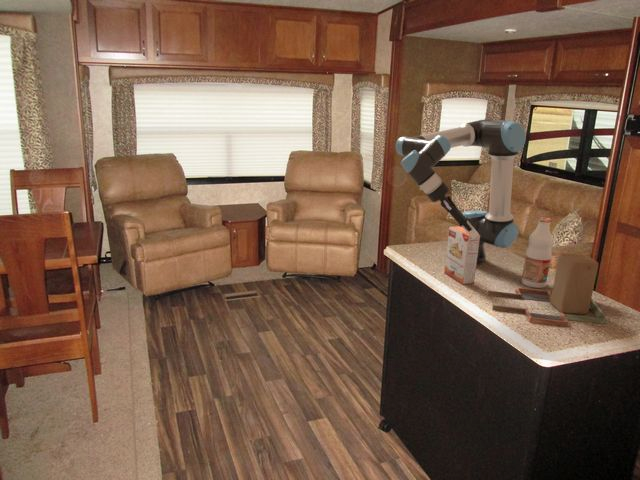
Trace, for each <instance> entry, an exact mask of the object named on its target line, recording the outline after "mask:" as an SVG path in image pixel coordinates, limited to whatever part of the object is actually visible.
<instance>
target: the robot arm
mask: <svg viewBox="0 0 640 480" xmlns="http://www.w3.org/2000/svg"><path fill="white" fill-rule="evenodd" d="M526 135H527V134H526V130H525V127H524V126H523V125H522V124H521V123H520V122H518V121H512V120H504V119H490V118H487V119H486V118H485V119H480V120H479V119H478V120H475V121H471V122H466V123H462V124H460V125H459V127H454V128H450V129H445V130H440V131H435V132H430V133H425V134H421V135H415V136H401V137H399V138H398V139H397V140H396V143H395V152H396V153H397V154H398V155H400V156H402V157H404V158H402V160H401V162H400V166H402V168H403V169H404V171H405V172H406V174H408V175H409V176H410V178H411V179H412V180H413V181H414V183H416V184H417V185H418V187H419V191H422V192H423V193H425V194H427V198H428V199H430V201H431V202H432V203H436V202H440V205H441V207H442V209H443V208H444V209H445V211H447V213H449V214H450V215H451V216H452V218H453V219H454V220H455V221H456V222H457V223H458V226H460V227H461V226H462V227H463V228H464V229H465V230H466V231H467V233H468V234H469V235H470V236H471V237H472V238H473V239H474V238H475V237H477V236H478V235H480V242H479V249H478V257H477V264H476V265H481V264H484V263H486V259H487V255H486V250H485V244H488V245H490V246H494V247H495V248H502V249H508V248H510V247H511V246H512V245H513V244H514V242H516V240H517V238H518V235H519V231H520V229H519V226H518V224H517V223H516V222H514V215H513V214H512V213H511V205H512V202H511V201H512V191H513V190H512V189H513V176H514V174H513V173H514V164H515V163H514V161H515V160H514V159H515V158H516V157H517V156H518V155H519V152H520V151H521V150H522V149H524V145H525V144H526V140H527V136H526ZM460 146H461V147H462V146H463V147H466V148H467V147H479V148H480V147H481V148H485V149H486V148H487V149H488V156H489V157H490V158H491V167H490V169H491V170H490V185H489V186H490V187H489V204H488V205H489V206H488V211H485V210H465V211H463V212H462V211H461V210H460V209H459V208H458V207H457V205H456V203H455V202H454V201H453V199H452V197H451V196H447V194H448V192H449V191H450V188H449V186H447V184H446V183H445V182H444V181H443V182H442V178H441V177H440V176H439V175H438V174H437V172H435V170H434V169H433V168H434V167H435V166H436V165H437V163H439V162H441V160H442V159H443V158H445V156H446V155H447V154H448V153H449V152H450V150H451V148H456V147H457V148H458V147H460Z"/></svg>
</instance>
